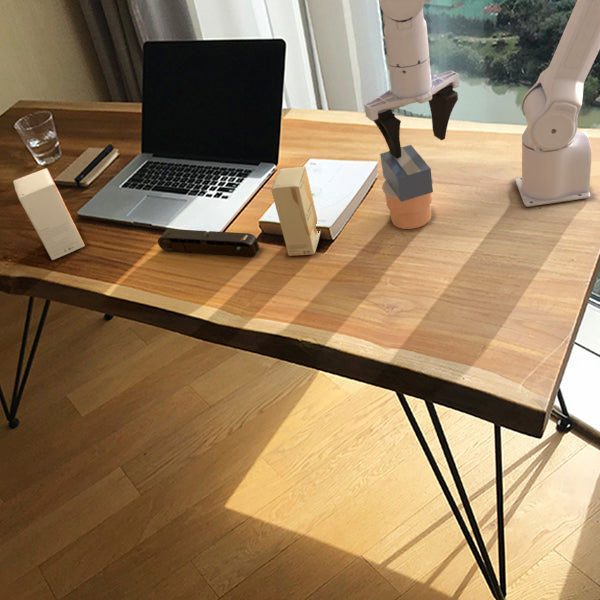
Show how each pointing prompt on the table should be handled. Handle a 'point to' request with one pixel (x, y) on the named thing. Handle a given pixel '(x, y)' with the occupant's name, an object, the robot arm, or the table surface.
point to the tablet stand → (209, 242)
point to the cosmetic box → (296, 210)
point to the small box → (48, 213)
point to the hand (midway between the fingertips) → (417, 146)
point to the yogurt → (408, 209)
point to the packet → (407, 173)
